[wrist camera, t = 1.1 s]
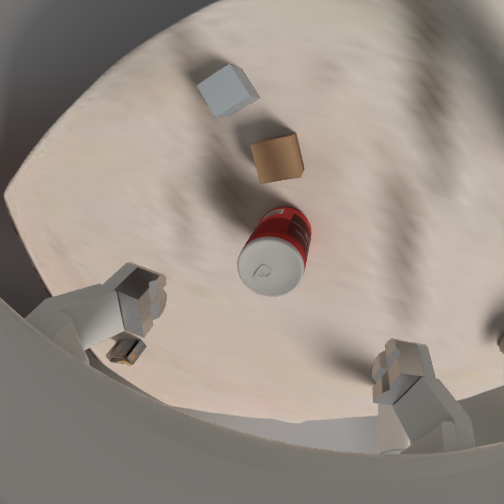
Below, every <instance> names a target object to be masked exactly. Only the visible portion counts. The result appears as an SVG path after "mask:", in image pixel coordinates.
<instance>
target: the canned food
mask: <svg viewBox="0 0 504 504" xmlns="http://www.w3.org/2000/svg"><path fill="white" fill-rule="evenodd" d="M310 240H311V226H310V223H309V222H308V220H307V218H306V217H305V216H304V215H303V214H302V213H301V212H300V211H298V210H296V209H293V208H290V207H280V208H277V209H273V210H271V211H269V212H268V213H267V214H266V215H265V216H264V217H263V218H262V220H261V221H260V223H259V224H258V226H257V227H256V229H255V230H254V232H253V233H252V235H251V236H250V238H249V239H248V241H247V242H246V244H245V246H244V247H243V249H242V251H241V253H240V255H239V258H238V262H237V269H238V273H239V276H240V278H241V280H242V281H243V283H244V284H245V285H246V286H247V287H248V288H250V289H251V290H252V291H254V292H256V293H258V294H261V295H264V296H269V297H277V296H282V295H285V294H288V293H290V292H291V291H293V290H294V289H295V288H296V287H297V286H298V285H299V283H300V282H301V279H302V277H303V274H304V270H305V266H306V261H307V256H308V250H309V245H310Z"/></svg>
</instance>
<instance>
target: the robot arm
mask: <svg viewBox="0 0 504 504" xmlns="http://www.w3.org/2000/svg"><path fill="white" fill-rule="evenodd" d="M165 285H166V277H165V276H164V275H163V274H161V273H158V272H155V271H153V270H150V269H147V268H145V267H142V266H139V265H136V264H134V263H131V262H129V263H126V264H125V265H124V266H123V267H122V268H120V269H119V270H118V271H117V272H116V273H115V274H114V275H113V276H111V277H110V278H109V279H108V280H107V281H106V282H105V283H104V284H103V285H101V284H96V285H93V286H89V287H86V288H82V289H79V290H75V291H72V292H68V293H65V294H62V295H58V296H55V297H51V298H48V299H46V300H44V301H43V302H42V303H41V304H40V305H39V306H38V307H37V308H36V309H34V310H33V311H32V312H31V313H30V314H29V315H28V316H27V317H26V318H25V319H24V318H22V317H21V316H20V315H19V314H18V313H17V312H16V311H14V310H13V309H12V308H11V307H10V306H9V305H8V304H7V303H6V302H4V301H3V300H2V299H1V298H0V504H504V442H500V443H495V444H491V445H486V446H481V447H476V448H475V442H474V435H473V429H472V423H471V419H470V418H469V417H468V415H467V414H466V413H465V411H464V410H463V409H462V408H461V406H460V405H459V404H458V402H457V401H456V400H455V399H454V397H453V396H452V395H451V394H450V392H449V391H448V390H447V389H446V387H445V386H444V385H443V384H442V382H441V381H440V380H439V379H436V378H435V373H434V369H433V365H432V361H431V357H430V354H429V350H428V347H427V346H426V345H425V344H420V343H413V342H408V341H403V340H398V339H393V338H391V339H390V340H389V341H388V342H387V343H386V345H385V351H383V352H381V353H379V354H378V356H377V357H376V359H375V361H374V364H373V367H372V378H373V380H374V381H375V383H376V384H375V385H374V386H373V403H379V404H385V405H393V406H392V407H393V409H394V411H395V413H396V415H397V417H398V418H399V420H400V422H401V424H402V426H403V428H404V430H405V432H406V434H407V436H408V438H409V440H410V442H411V445H410V446H408V447H407V448H405V449H404V450H402V451H401V452H400V454H367V453H352V452H341V451H333V450H325V449H318V448H311V447H305V446H300V445H294V444H289V443H284V442H279V441H275V440H270V439H266V438H262V437H258V436H254V435H250V434H247V433H243V432H240V431H236V430H233V429H229V428H226V427H223V426H220V425H217V424H214V423H211V422H208V421H205V420H203V419H200V418H197V417H194V416H192V415H189V414H186V413H184V412H181V411H179V410H176V409H174V408H172V407H169V406H167V405H164V404H162V403H160V402H158V401H156V400H153V399H151V398H149V397H147V396H145V395H143V394H141V393H139V392H137V391H134V390H133V389H130V388H128V387H127V386H125V385H122V384H121V383H119V382H117V381H115V380H114V379H112V378H110V377H108V376H106V375H105V374H103V373H101V372H99V371H98V370H96V369H94V368H93V367H91V366H89V359H88V357H87V355H86V353H85V351H84V350H86V349H88V348H90V347H92V346H94V345H96V344H98V343H100V342H102V341H105V340H107V339H109V338H111V337H113V336H115V335H117V334H119V333H121V332H123V331H124V329H125V330H127V331H129V332H132V333H134V334H136V335H139V336H141V337H143V338H144V337H145V336H146V335H147V333H148V332H149V331H150V329H151V328H152V326H153V320H154V319H157V318H159V317H160V316H161V314H162V313H163V311H164V308H165V306H166V301H167V294H166V292H165V291H164V289H163V288H164V287H165Z"/></svg>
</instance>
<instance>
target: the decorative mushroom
mask: <svg viewBox="0 0 504 504" xmlns="http://www.w3.org/2000/svg"><path fill="white" fill-rule="evenodd" d="M499 345H500V351H501V352H502V353H504V336H503V337H502V338H501V340H500V343H499Z"/></svg>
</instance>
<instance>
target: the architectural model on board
mask: <svg viewBox="0 0 504 504" xmlns="http://www.w3.org/2000/svg"><path fill="white" fill-rule="evenodd" d="M136 341H137V340H118V341H117V342H116V343H115V345H114V346H113V347H112V348H111V350H110V351H109V352H108V353H107V354H106V357H107V358H108V360H109V361H110V362H113V363H122V364H127V365H129V366H131V365H133V364H134V363H135V361H136V360H137V359H138V357H139V356H140V355H141V353H142V352H143V350H144V349H145V348H146V345H145V344H144V343H143V341H142V340H140V341H139V342H138V344H137V345H136V346H135V345H134V344H135V343H136Z"/></svg>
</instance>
